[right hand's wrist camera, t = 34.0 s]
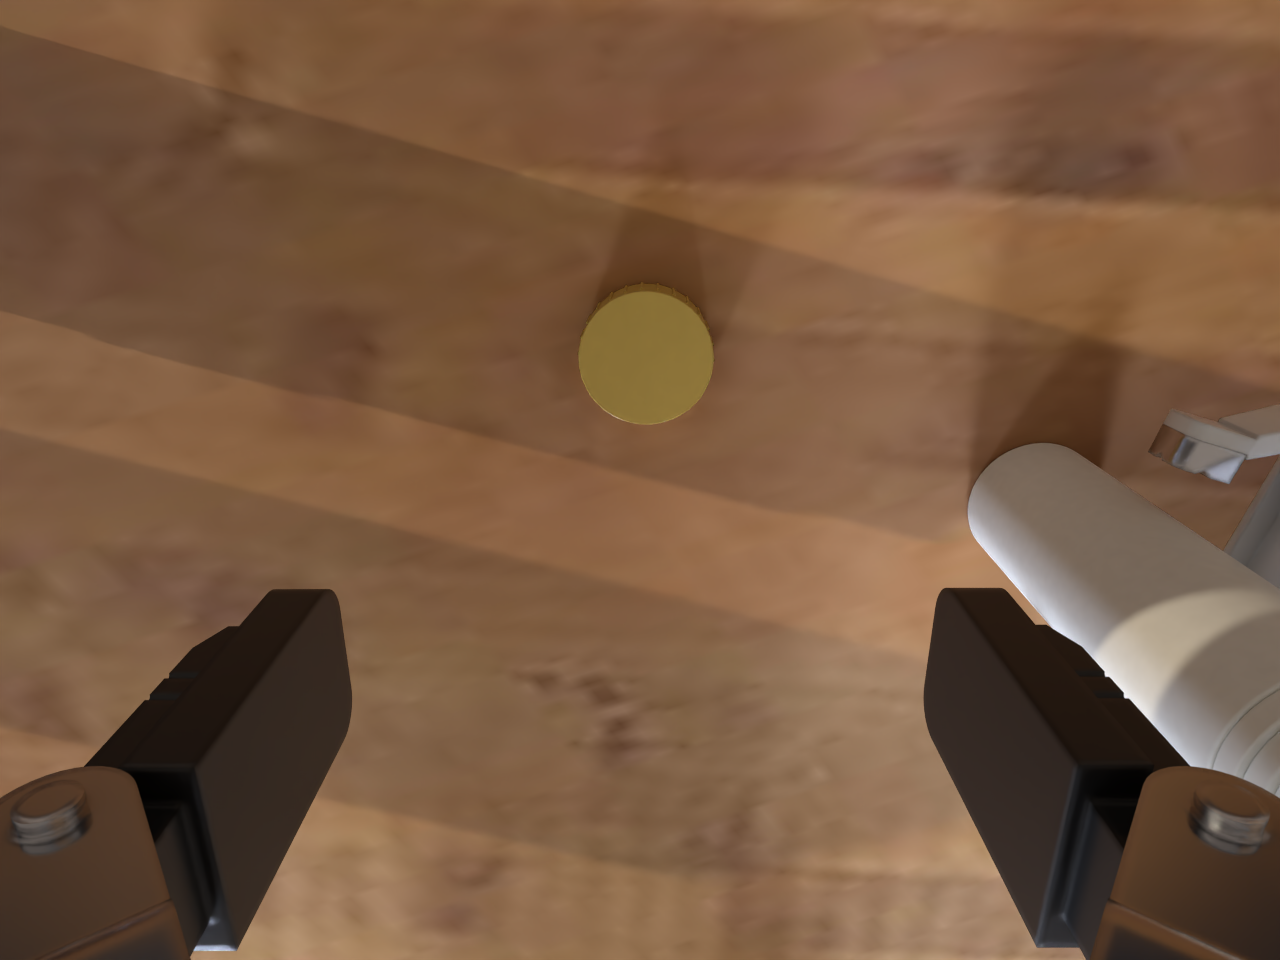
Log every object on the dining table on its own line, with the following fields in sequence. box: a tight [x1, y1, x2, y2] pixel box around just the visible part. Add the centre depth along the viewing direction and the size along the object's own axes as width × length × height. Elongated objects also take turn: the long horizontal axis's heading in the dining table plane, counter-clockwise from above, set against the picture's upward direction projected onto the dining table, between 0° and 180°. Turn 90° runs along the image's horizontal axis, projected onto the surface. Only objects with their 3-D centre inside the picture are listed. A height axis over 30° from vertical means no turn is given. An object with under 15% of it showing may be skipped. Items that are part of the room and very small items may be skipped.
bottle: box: [968, 443, 1280, 798], centre depth 23 cm, size 5×5×21 cm
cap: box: [578, 282, 715, 424], centre depth 30 cm, size 5×5×2 cm
